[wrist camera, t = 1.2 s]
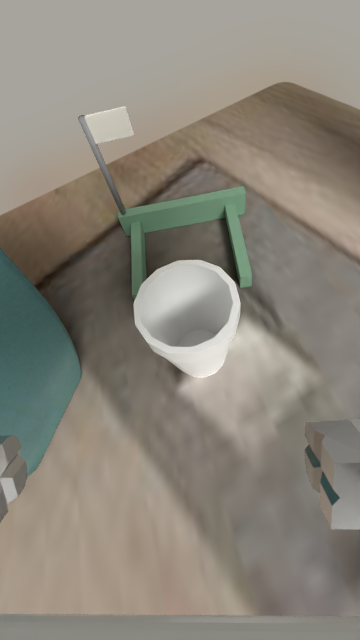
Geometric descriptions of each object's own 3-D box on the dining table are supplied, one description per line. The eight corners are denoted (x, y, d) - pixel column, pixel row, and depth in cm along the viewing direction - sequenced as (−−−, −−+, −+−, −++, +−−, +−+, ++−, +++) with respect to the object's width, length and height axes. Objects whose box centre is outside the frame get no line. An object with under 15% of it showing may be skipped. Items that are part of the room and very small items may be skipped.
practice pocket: (262, 284, 41) (280, 166, 25) (127, 306, 43) (62, 210, 27) (243, 207, 47) (247, 74, 31) (126, 229, 49) (74, 115, 33)
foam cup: (197, 306, 41) (183, 243, 29) (253, 347, 37) (262, 294, 25) (149, 358, 39) (112, 312, 27) (203, 406, 35) (187, 377, 23)
